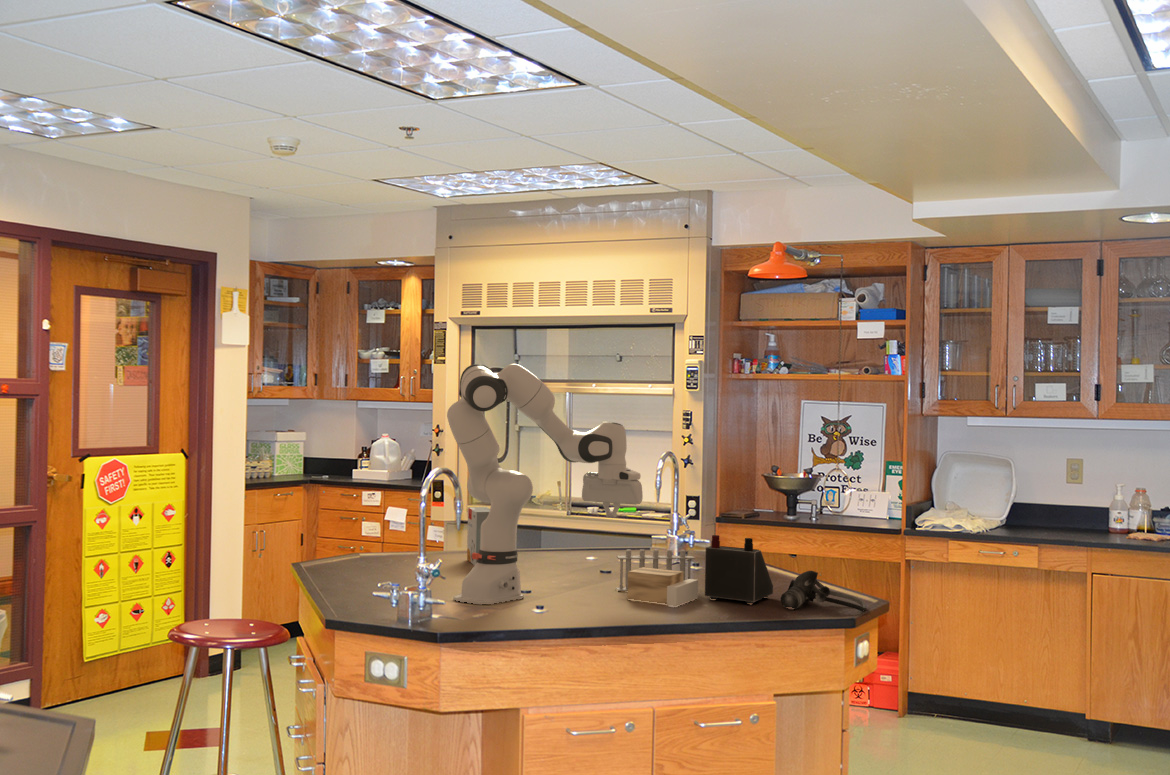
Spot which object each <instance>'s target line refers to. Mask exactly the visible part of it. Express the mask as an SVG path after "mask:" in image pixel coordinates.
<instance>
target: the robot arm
mask: <svg viewBox="0 0 1170 775" xmlns="http://www.w3.org/2000/svg"><path fill="white" fill-rule="evenodd" d="M458 395H459V397H460V399H459V400H458V401H456V402H454V403H452V405H450V407H449V408H448V409H447V412H446V417H447V418H446V419H447V422H448V426H449V428H450V431H451V433H452V435H453V438H454V440H455V442H456V444H457V446H458V448H459V450H460V452H461V454H462V456H463V458H464V460H465V463H466V465H467V468H468V474H469V475H468V478H467V483H466V484H467V485H466V489H467V491H468V494H469V495H470V496H471V497H472V498H474V499H475V500H477V501H479V502H482V503H485V504H490V507H489V509H490V511H489V514H488V517H487V518H486V519H485V520H484V521H483V522H482V524H481V542H480V550H479V552H478V553H472V555H473V556H472V559H477V560H476V561H477V563H476V565H475V566H474V565H473V567H472V568H471V570H470V571H469V572H468V573H467V574H466V576H465V577H464V578H463V580H462V583H461V584H462V585H461V593H460V594H457V595H455V596H453V601H455V600H456V602H458V601H460V603H464V602H467V603H466V604H471V603H473V604H474V605H482V604H491V605H495V604H494V603H497V604H500V603H499V602H502V603H505V601H507V602H511V601H510V600H513V601H517V600H516V599H518V600H522V598H523V599H524V593H522V590H521V589H522V587H521V586H522V585H521V573H520V570H519V568H518V565H517V562H518V557H519V554H518V549H517V536H518V535H517V534H518V533H517V531H518V524H519V520H520V519H519V518H520V516H521V513H522V510H523V508H524V506H525V505H526V504H527V503H528V502H529V501H530V499H531V497H532V495H533V488H534V487H533V482H532V480H531V479H530V477H529V476H528V475H526V474H524V473H522V472H521V471H517V470H513V469H512V470H511V469H504V468H502V467H501V465H500V464H499V461H498V460H499V459H498V455H499V454H500V445H499V443H498V440H497V439H496V437H495V434H494V433H493V430H492V429H491V427H490V425H489V422H488V420H487V418H486V417H485V414H484V413H485V412H488V411H491V410H493V409H495V408H496V407H497V406H499V405H500V404H502V403H504V402H505V401H506V400H507V401H509V403H510V404H512V405H513V406H515V408H517V410H518V411H520V412H521V413H522V414H524V415H525V416H526V417H528V419H530V420H531V421H532V422H533V423H535V424H536V425H537V426H538V427H539V428H540V429H541V430H542V431H543V432H544V433H545V434H546V435H547V436H548V437H549V438H550V439H551V441H553V443H555V445H556V447H557V450H558V452H559V454H560V455H561V457H562V458H563V459H564V460H565V461H567V462H569V463H582V464H593V463H598V465H597V466H598V467H597V468H598V469H597V472H596V471H595V472H591V471H587V472H586V473H584V475H583V476H582V490H581V499H582V500H583V501H584V502H591V503H593V502H594V503H602V507H603V509H604V511H605V517H606V518H614V519H615V518H617V516H618V514H617V513H618V512H619V509H620V508H621V504H624V505H636V506H637V505H640V504H642V502H643V499H644V498H643V485H642V482H641V481H640V480H641V473H640V472H638V471H636V470H633V469H631V468H628V467H627V460H626V453H627V432H626V428H625V426H623V424H621V423H618V422H613V421H608V420H607V421H602V422H601V423H600V424H599V425H598V426H596V427H595V428H592V429H591V430H587V431H578V430H574V429H571V428H570V427H568V425H566V424H565V422H563V420H562V419H561V418H560V417H559V416H558V415H557V414H555V412H554V407H555V402H556V399H555V394H553V391H552V390H550V388H549V387H548V386H547V385H546V384H545V383H544V382H543V381H542V380H541V379H539V378H538V377H537V376H536V374H534V373H532V372H531V371H530V370H528V369H527V368H525V367H523V366H522V365H520V364H517V363H511V364H508V365H506V366H505V367H504V368H502V369H501V370H500V371H499V372H493V371H492V369H491V368H490V367H488V366H486V365H485V364H481V363H473V364H470V365H468V366H467V367H466V368H465V369H464V370H463V371H462V373H461V376H460V379H459V392H458ZM611 503H612V506H613V510H611V509H610V507H609V506H610V505H611ZM473 604H472V605H473Z"/></svg>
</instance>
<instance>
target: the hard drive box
mask: <svg viewBox="0 0 1170 775" xmlns="http://www.w3.org/2000/svg"><path fill="white" fill-rule="evenodd" d="M489 511H490V507H487V506H472V507H471V506H469V507H467V541H466V542H467V545H466V548H467V549H466V554H467V555H466V560H467V561H468V562H470V563H471V564H472V565H473V567H474V566H475V565H476V563H477V561H476V560H477V559H472V556H473V555H472V553H478V552H479V550H480V542H481V524H482V522H483V521H484V520H485V519H486V518H487V517H488V514H489Z"/></svg>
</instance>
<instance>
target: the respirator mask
mask: <svg viewBox="0 0 1170 775" xmlns="http://www.w3.org/2000/svg"><path fill="white" fill-rule="evenodd" d="M818 575H819V572H817V571H814V570H807V571H805V572H802V573H801V574H799V575H798V576H796V578H795V580H794V579H791V581H790V584H789V586H788V589H787V590H786V591H784V592H783V593H782V594H781V596H780V602H781V603H780V604H781V605H782V606H783V607H784V608H785V607H792V608H795V610H797V609H798V608H799V607H800V606H802V605H803V604H804V603H807V604H809V603H810V602H811V603H812V602H814V600H816V601H817V603H824V602H828V603H832V604H836V605H840V606H844V607H847V608H852V609H855V610H858V611H860V612H862V611H863V610H865V609H867V605H866V603H865V602H864V601H863V600H862V599H861V598H858V597H856V596H853V595H852V594H851V595H850V594H847V593H843V592H838V591H834V590H830V587H828V586H827V585H823V584H822V583H821V582H820V581H819V580H817V578H818ZM829 596H834V597H839V598H842V599H846V600H848V601H845V600H842V599H837V598H833V597H829ZM849 600H850V601H852V602H855V603H852V602H850V601H849ZM856 603H857V604H856ZM865 611H866V610H865Z"/></svg>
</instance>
